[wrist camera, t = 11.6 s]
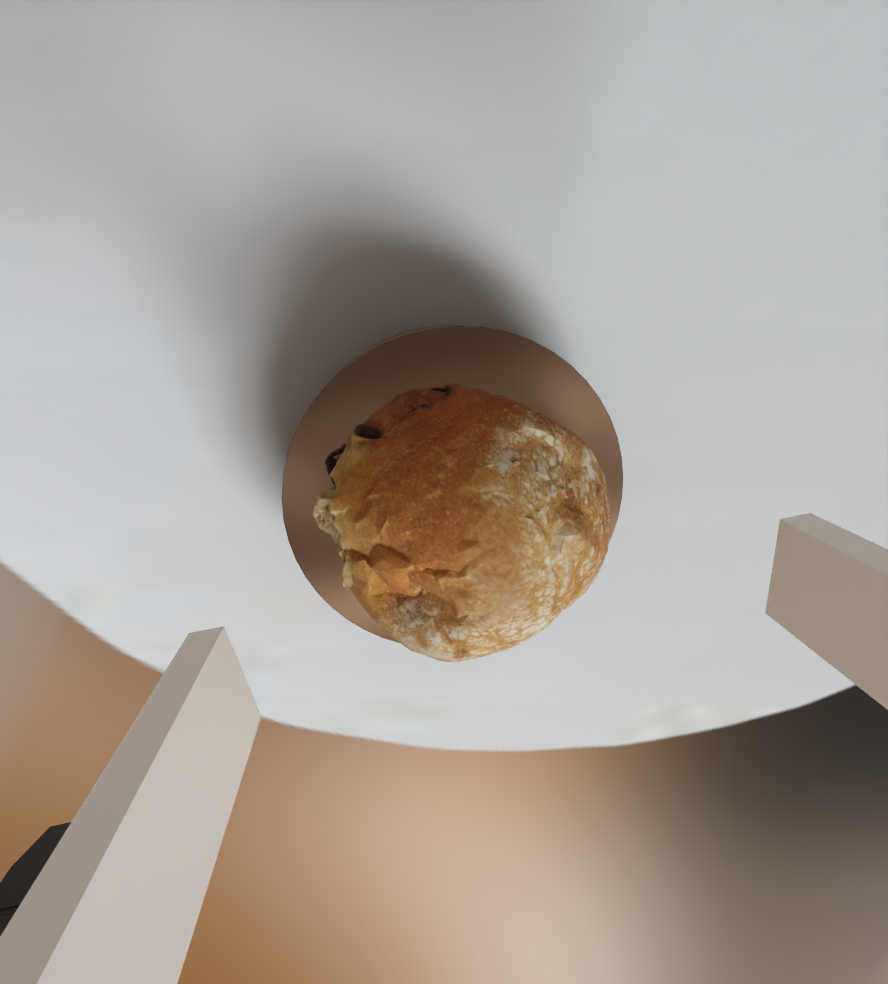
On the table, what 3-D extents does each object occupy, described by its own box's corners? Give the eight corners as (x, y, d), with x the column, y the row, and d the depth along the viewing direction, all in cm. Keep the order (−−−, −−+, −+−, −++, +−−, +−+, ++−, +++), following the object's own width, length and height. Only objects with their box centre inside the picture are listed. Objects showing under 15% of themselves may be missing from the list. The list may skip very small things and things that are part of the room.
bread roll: (435, 582, 24) (522, 720, 18) (250, 526, 17) (294, 721, 11) (559, 433, 22) (702, 535, 16) (407, 298, 15) (561, 393, 9)
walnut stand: (262, 354, 19) (232, 361, 15) (578, 303, 20) (622, 297, 16) (339, 621, 24) (330, 675, 20) (588, 571, 25) (623, 614, 21)
